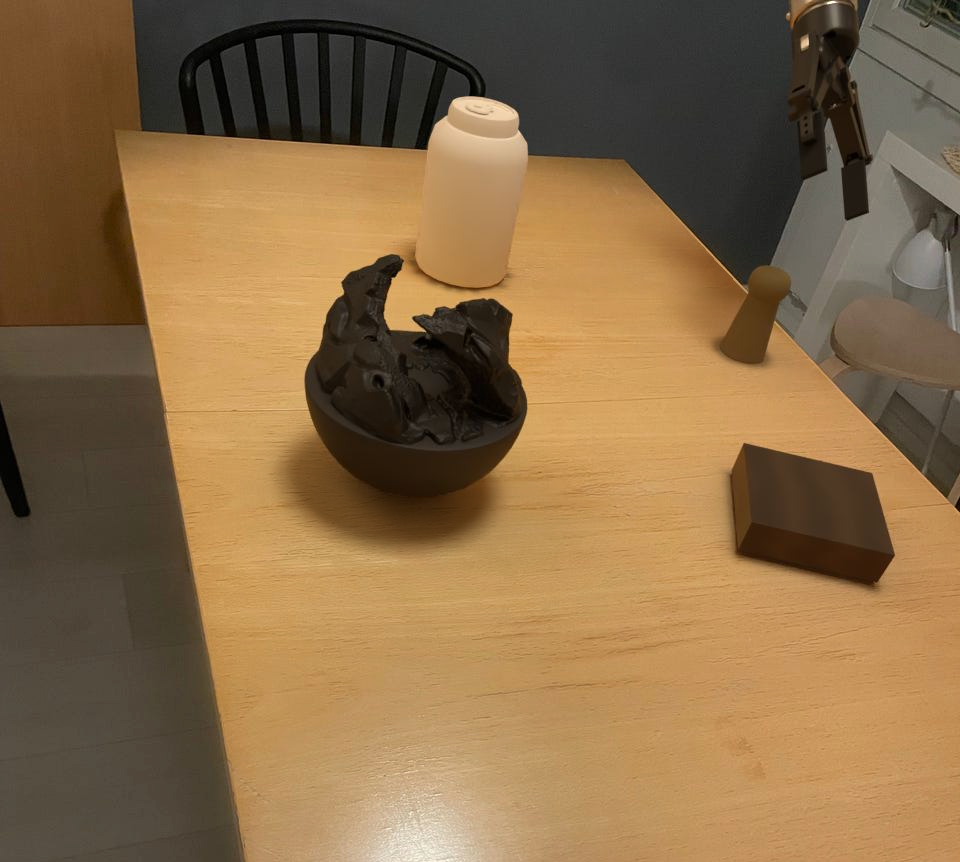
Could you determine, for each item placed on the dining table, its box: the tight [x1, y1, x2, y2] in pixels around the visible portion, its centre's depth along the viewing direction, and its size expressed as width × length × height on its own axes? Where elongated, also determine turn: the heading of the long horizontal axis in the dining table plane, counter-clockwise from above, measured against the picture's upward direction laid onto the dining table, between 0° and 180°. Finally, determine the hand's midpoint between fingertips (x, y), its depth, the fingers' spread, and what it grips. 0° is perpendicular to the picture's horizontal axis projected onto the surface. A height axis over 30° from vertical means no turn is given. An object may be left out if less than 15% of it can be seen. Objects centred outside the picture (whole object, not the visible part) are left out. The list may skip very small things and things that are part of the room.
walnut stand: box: [731, 442, 896, 586], centre depth 92 cm, size 14×14×4 cm
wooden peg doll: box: [719, 264, 792, 365], centre depth 116 cm, size 6×6×11 cm
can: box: [414, 95, 529, 289], centre depth 116 cm, size 12×12×20 cm
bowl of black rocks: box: [303, 253, 528, 499], centre depth 81 cm, size 20×20×19 cm
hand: (836, 196), depth 107 cm, fingers open, 13 cm apart
